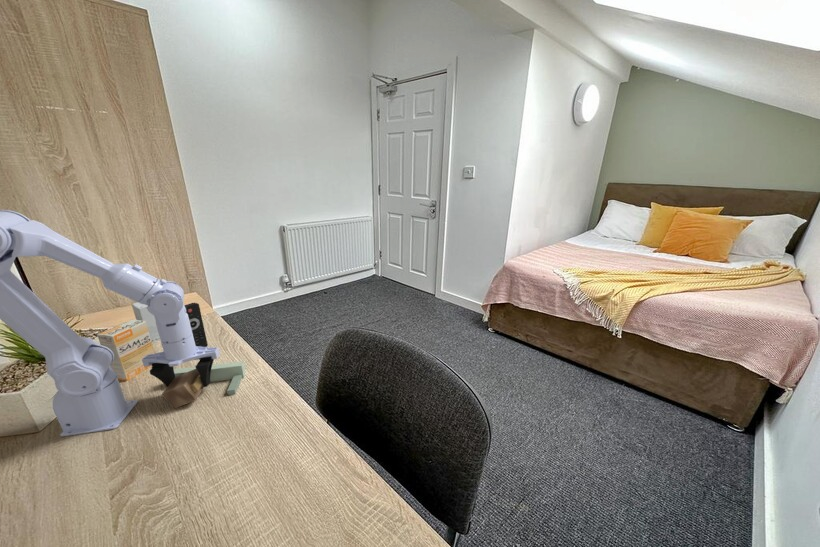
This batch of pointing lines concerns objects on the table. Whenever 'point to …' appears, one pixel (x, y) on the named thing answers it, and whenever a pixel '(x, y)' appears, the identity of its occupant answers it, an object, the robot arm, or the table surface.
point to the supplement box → (128, 347)
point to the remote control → (196, 324)
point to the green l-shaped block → (222, 374)
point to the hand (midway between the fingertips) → (190, 386)
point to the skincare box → (145, 315)
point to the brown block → (184, 389)
